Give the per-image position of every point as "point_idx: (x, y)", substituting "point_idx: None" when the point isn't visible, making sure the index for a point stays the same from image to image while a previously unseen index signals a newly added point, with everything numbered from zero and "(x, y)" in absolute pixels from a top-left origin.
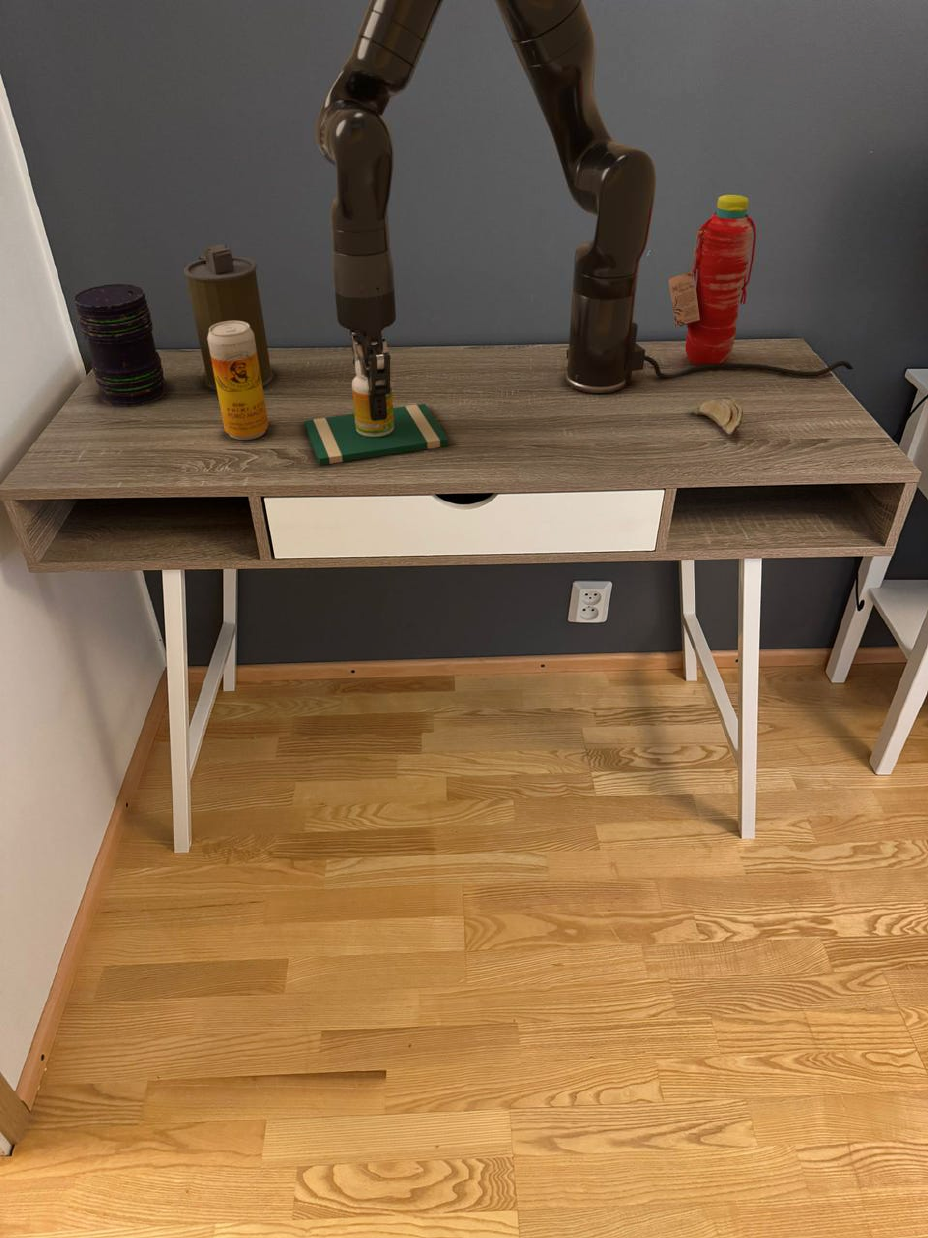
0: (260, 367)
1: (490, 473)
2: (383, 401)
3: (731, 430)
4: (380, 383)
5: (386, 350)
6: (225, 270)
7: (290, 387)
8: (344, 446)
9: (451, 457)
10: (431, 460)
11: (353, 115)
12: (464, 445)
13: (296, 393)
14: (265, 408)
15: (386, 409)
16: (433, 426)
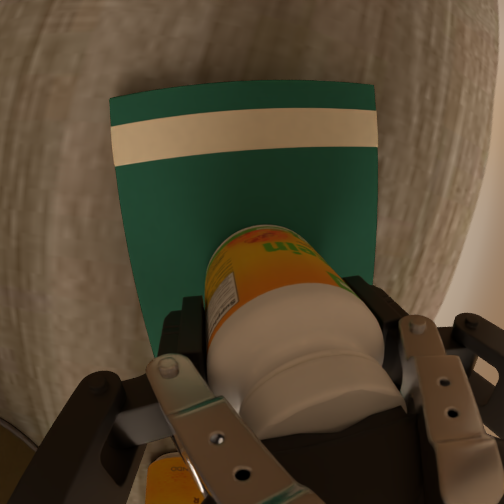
0: (3, 452)
1: (477, 66)
2: (404, 314)
3: None
4: (376, 351)
5: (490, 437)
6: None
7: (5, 396)
8: None
9: (417, 106)
10: (418, 155)
11: None
12: (371, 52)
13: (24, 394)
14: (185, 484)
15: (371, 287)
16: (289, 100)
